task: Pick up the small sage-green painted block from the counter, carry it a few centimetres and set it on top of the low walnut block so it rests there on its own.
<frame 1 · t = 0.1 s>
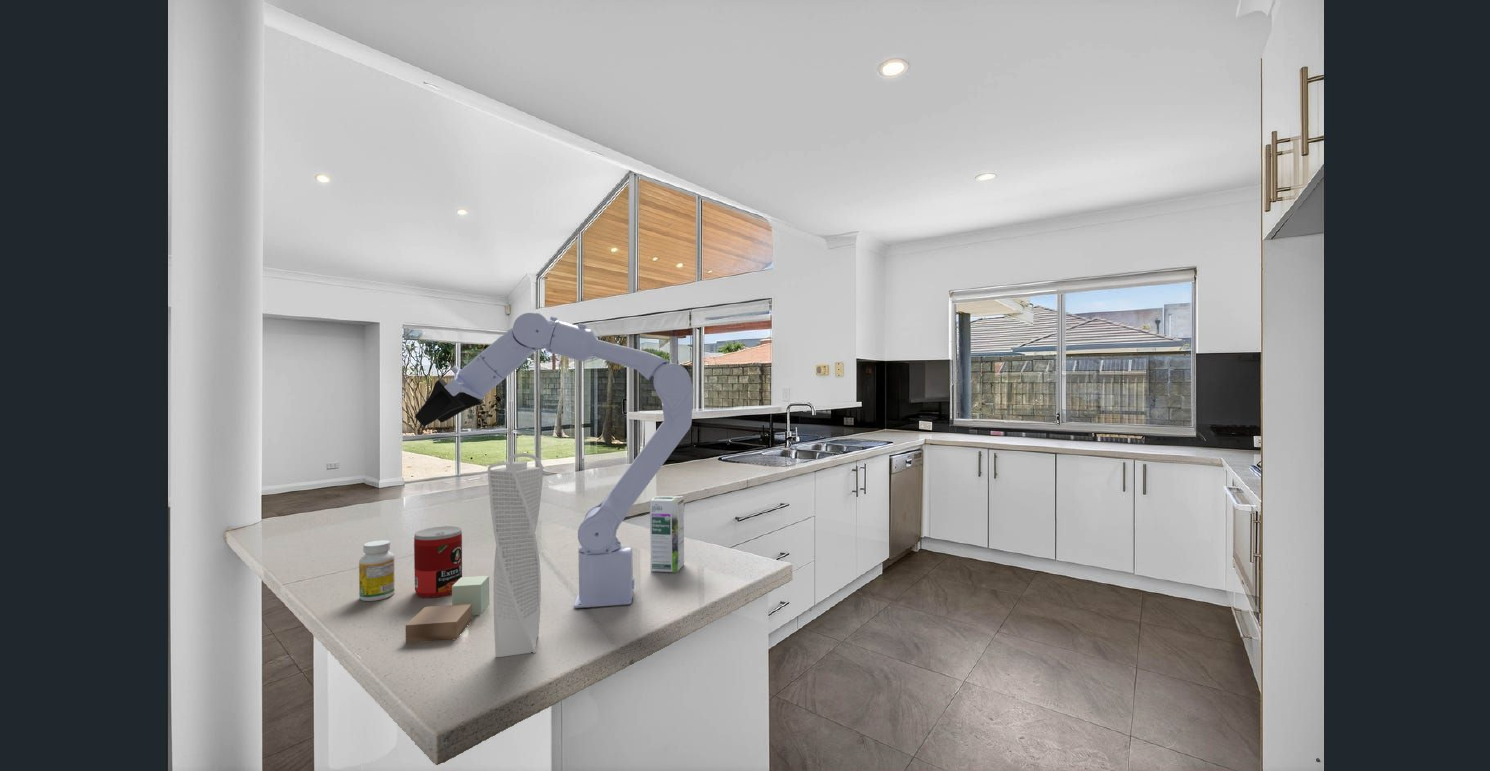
hand: (428, 419, 95), 32 cm above the worktop, tool tilted 50°, fingers open, 7 cm apart
sage block: (471, 610, 95), on the worktop
syrup box: (667, 569, 115), on the worktop
skyscraper: (517, 648, 81), on the worktop
walnut block: (440, 633, 86), on the worktop
supplement bottle: (377, 597, 102), on the worktop
canned food: (438, 591, 104), on the worktop
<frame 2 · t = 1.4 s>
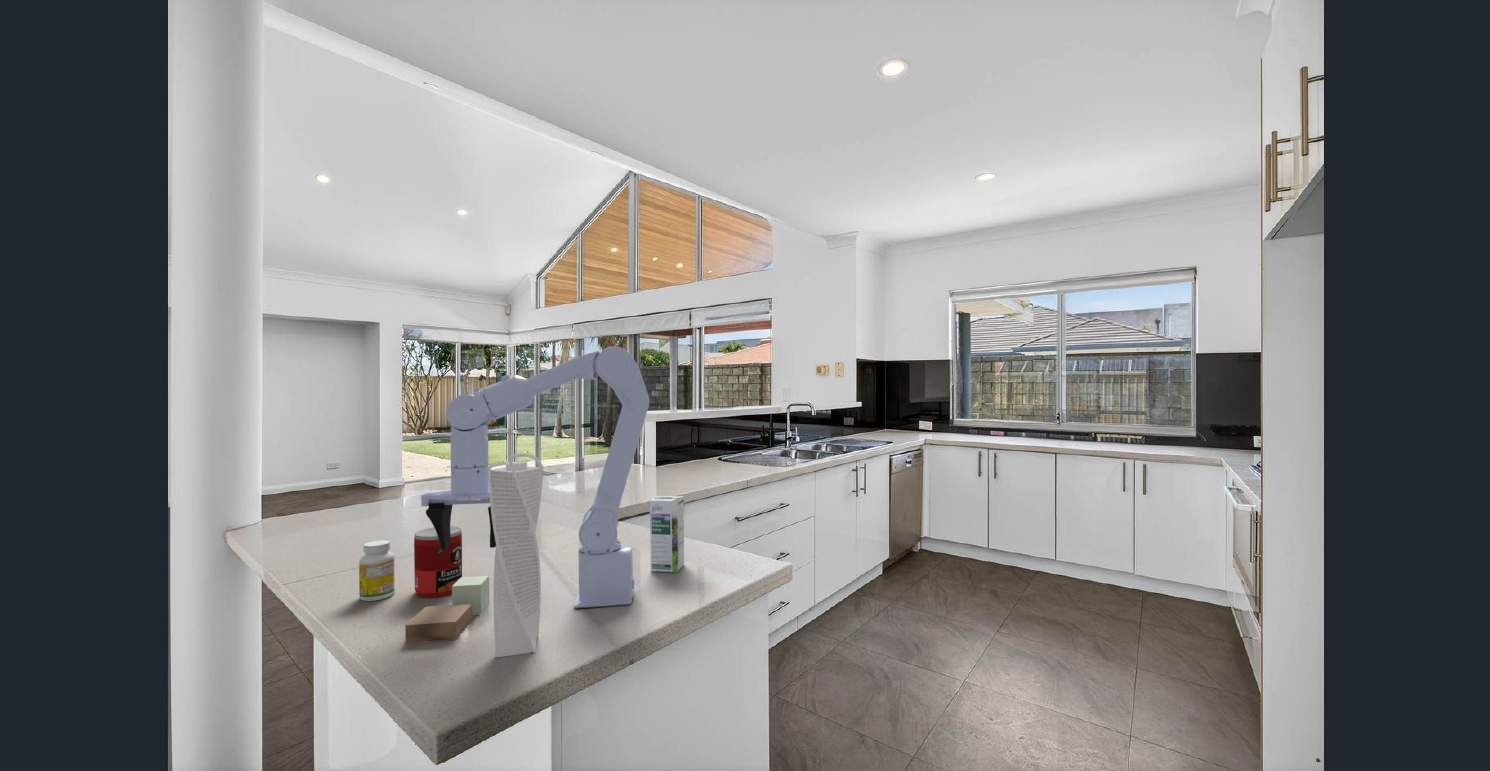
hand: (470, 547, 95), 11 cm above the worktop, tool pointing down, fingers open, 7 cm apart
nothing on the worktop moved.
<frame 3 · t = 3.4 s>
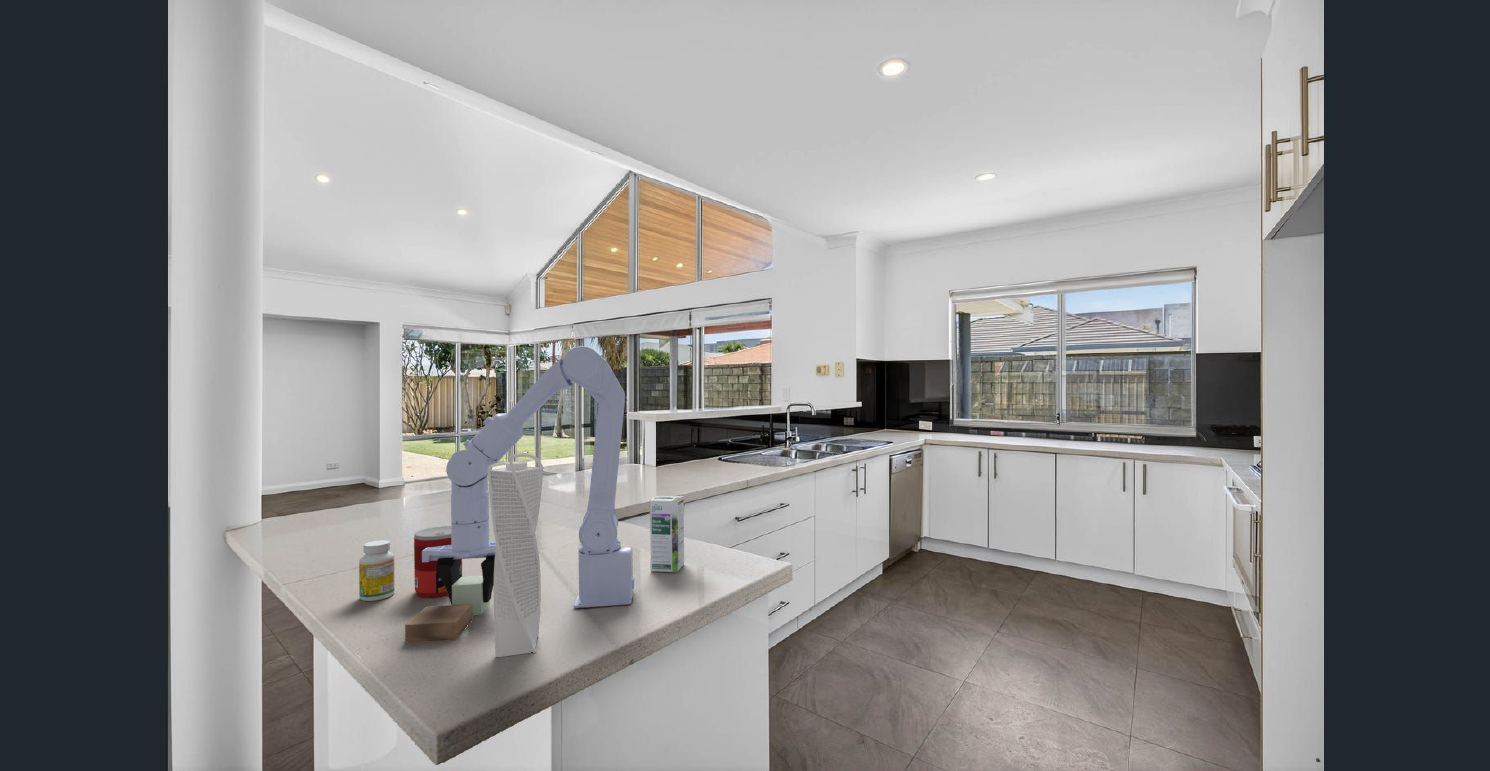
hand: (471, 601, 95), 1 cm above the worktop, tool pointing down, fingers closed on sage block, 4 cm apart
sage block: (471, 610, 95), on the worktop, touching gripper
everything else where it was.
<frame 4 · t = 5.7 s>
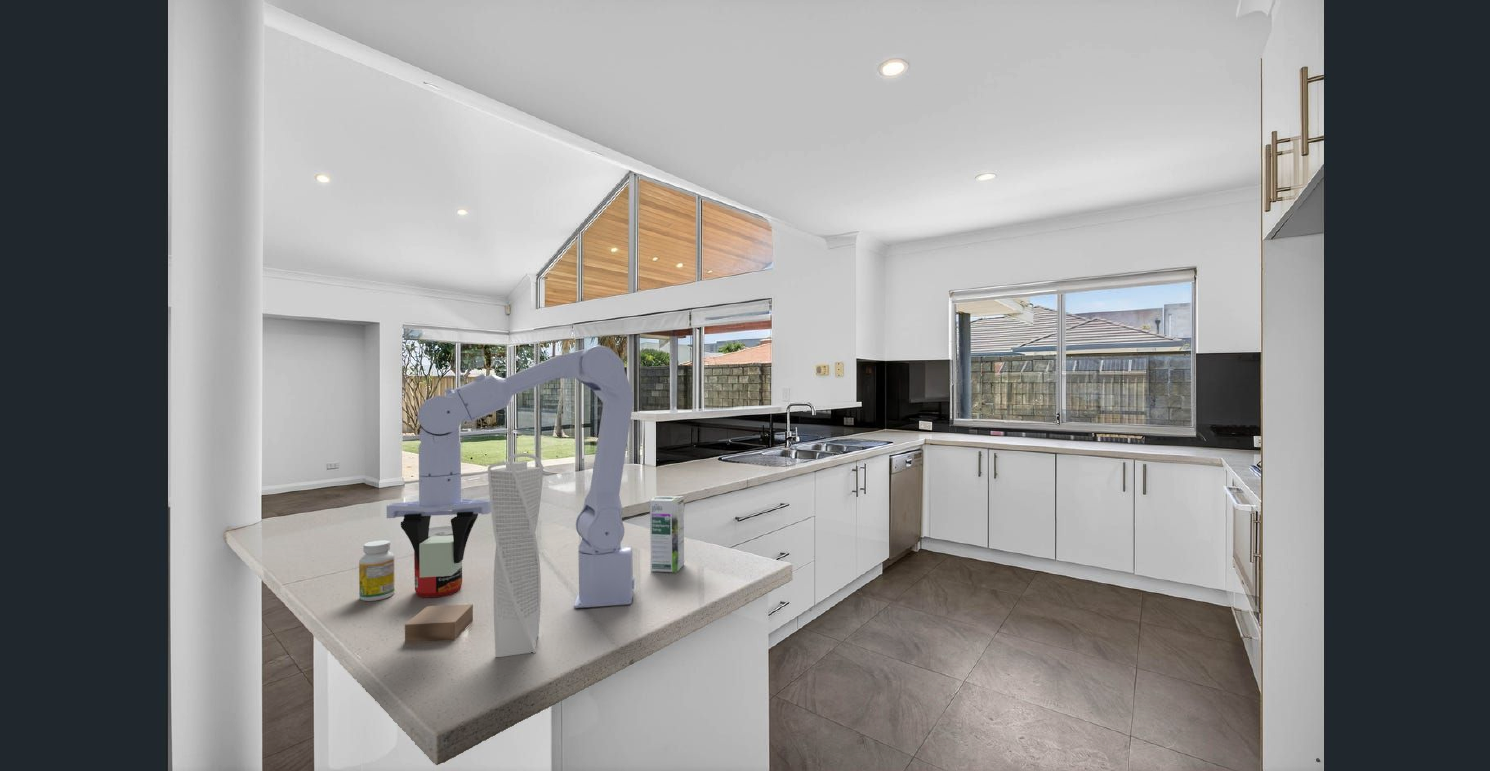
hand: (440, 562, 87), 10 cm above the worktop, tool pointing down, fingers closed on sage block, 4 cm apart
sage block: (441, 571, 87), point 9 cm above the worktop, touching gripper
everything else where it was.
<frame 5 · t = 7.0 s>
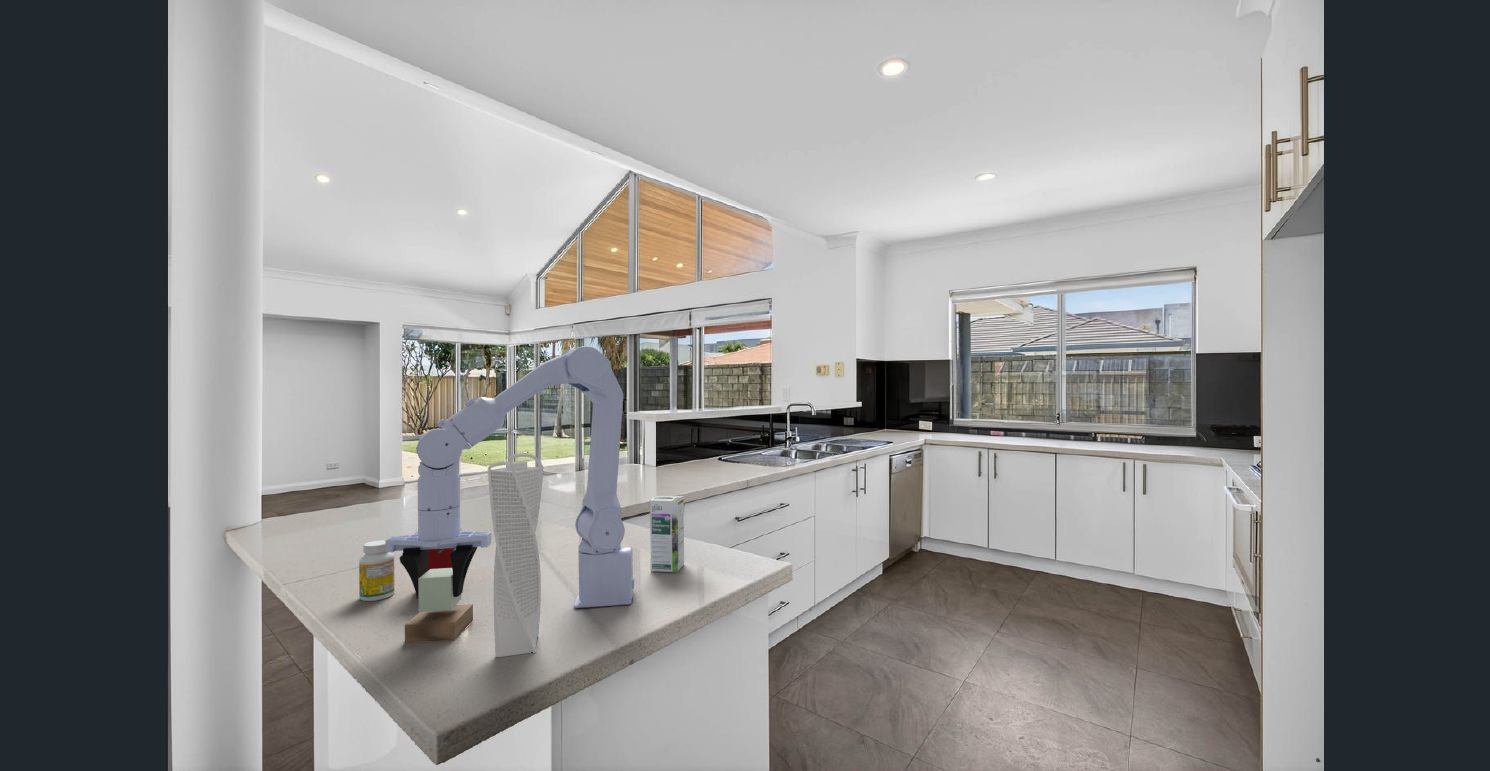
hand: (440, 595, 86), 5 cm above the worktop, tool pointing down, fingers closed on sage block, 4 cm apart
sage block: (440, 605, 87), point 4 cm above the worktop, touching gripper
everything else where it was.
when the fingers open (5 cm above the worktop, at t = 7.8 s): sage block drops 1 cm, resting on walnut block.
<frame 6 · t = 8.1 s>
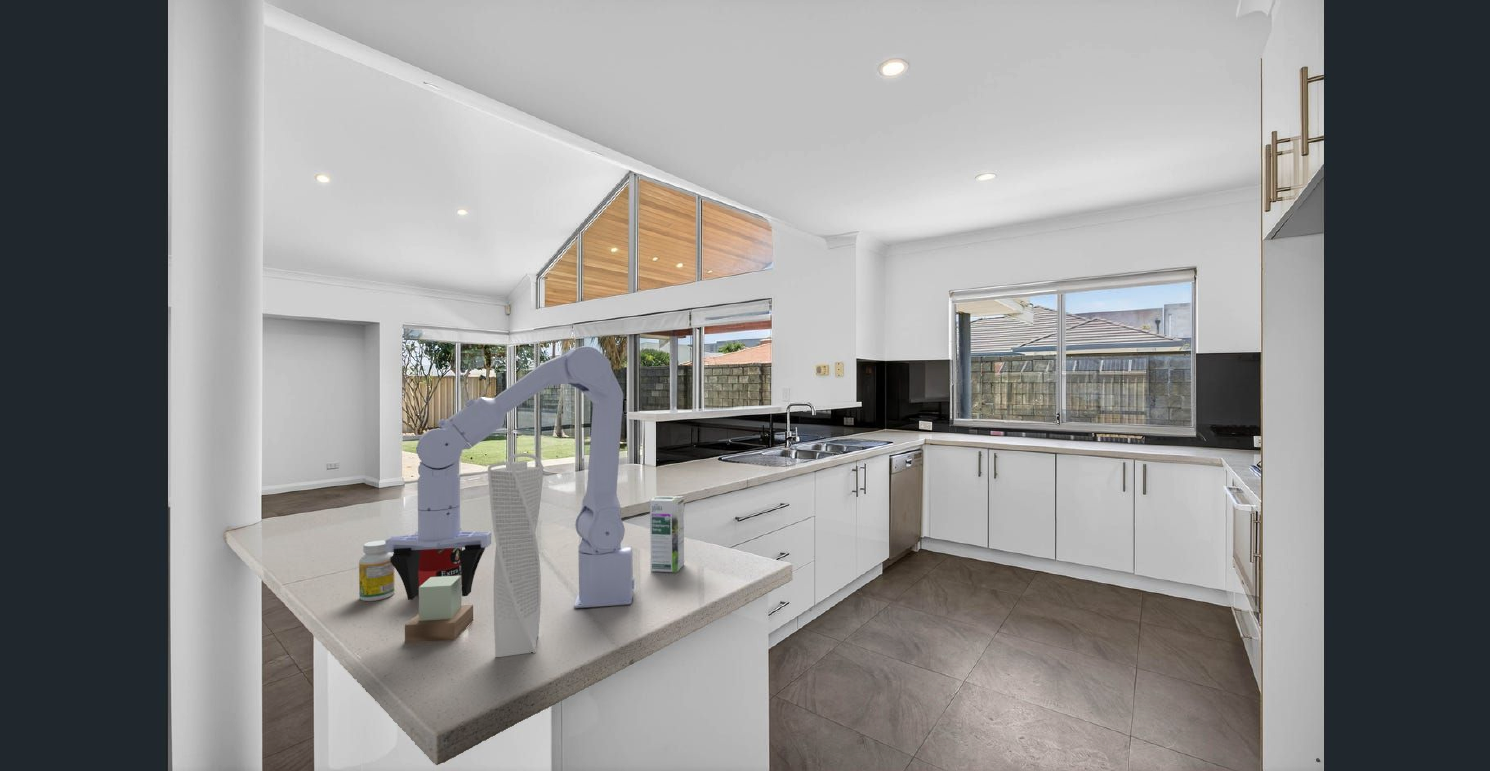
hand: (440, 595, 86), 5 cm above the worktop, tool pointing down, fingers open, 7 cm apart
sage block: (440, 613, 87), point 3 cm above the worktop, touching walnut block
walnut block: (440, 633, 86), on the worktop, touching sage block
everything else where it was.
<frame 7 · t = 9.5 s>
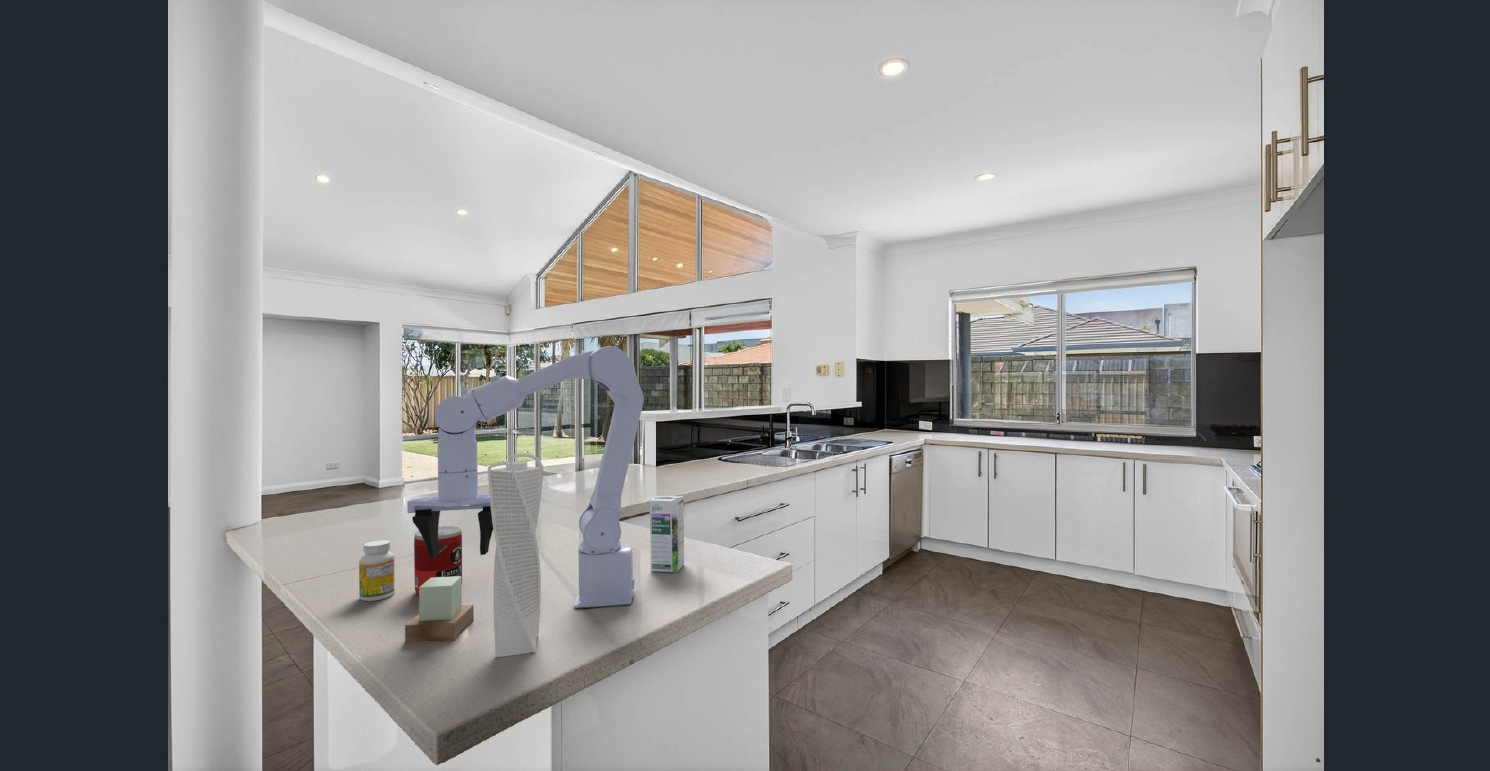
hand: (459, 554, 91), 10 cm above the worktop, tool pointing down, fingers open, 7 cm apart
nothing on the worktop moved.
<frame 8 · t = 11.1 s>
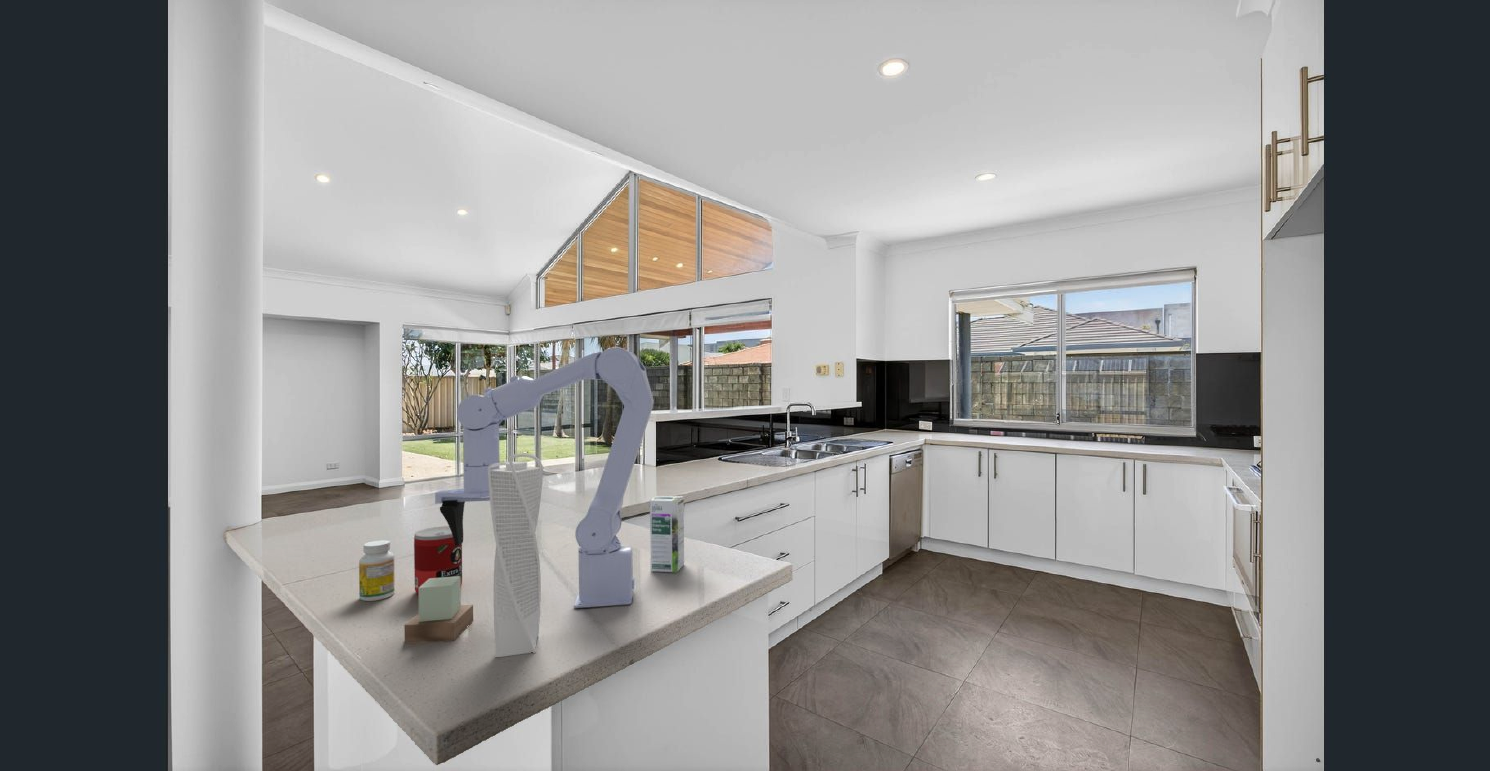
hand: (482, 542, 98), 10 cm above the worktop, tool pointing down, fingers open, 7 cm apart
sage block: (440, 614, 86), point 3 cm above the worktop
walnut block: (440, 634, 86), on the worktop
everything else where it was.
at the end: sage block 0.2 cm off-centre on the walnut block, point 3.0 cm above the walnut block's base; sage block tilted 1°; the gripper is holding nothing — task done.
